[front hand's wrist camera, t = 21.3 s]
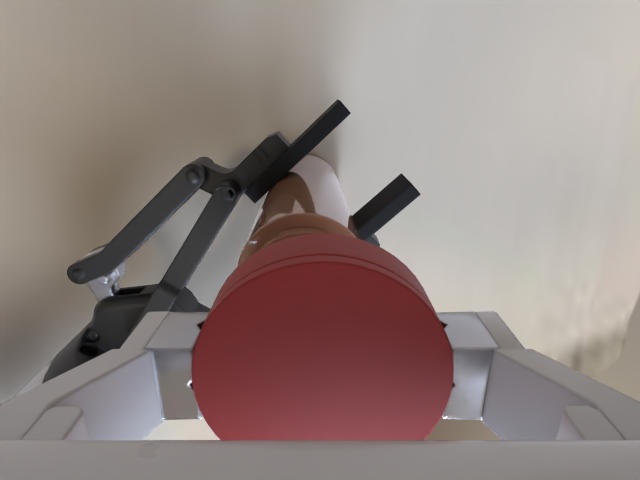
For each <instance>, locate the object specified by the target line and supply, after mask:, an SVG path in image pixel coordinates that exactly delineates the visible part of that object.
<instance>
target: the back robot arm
mask: <svg viewBox="0 0 640 480" xmlns="http://www.w3.org/2000/svg"><path fill="white" fill-rule="evenodd" d="M349 114H350V112H349V111H348V109H347V108H346V107H345V106H344V105H343V104H342V102H341V101H339V100H337V101H336V102H335V103H334V104H333V105H331V106H330V107H329V108H328V109H327V110H326V111H325V112H324V113H323V114H322V115H321V116H320V117H319V118H318V119H317V120H316V121H315V122H314V123H313V124H312V125H311V126H310V127H309V128H308V129H307V130H305V131H304V132H303V133H302V134H301V135H300V136H299V137H298V138H297V139H296V140H295V141H294V142H293V143H292V144H290V143H289V142H288V141H287V140H286V139H285V138H284V137H283V136H282V134H281V133H280V132H276V133H274V134H271V135H269V136H268V137H267V138H266V139H265V140H264V141H263V142H262V143H261V144H260V145H259V146H258V147H257V148H256V149H255V150H254V151H253V152H252V153H251V154H250V155H249V156H248V157H247V158H246V159H245V160H243V161H242V162H241V163H240V164H239V165H238V166H237V167H235V168H232V169H227V168H223V167H221V166H219V165H217V164H215V163H214V162H213V161H212V160H211V159H210V158H207V157H200V158H198V159H196V160H195V161H193V162H191V163H190V164H188V165H186V166H185V167H183V168H182V169H181V170H180V171H179V173H178V174H177V175H176V176H175V177H174V178H173V179H172V180H171V181H170V182H169V183H168V184H167V185H166V186H165V187H164V188H163V189H162V190H161V191H160V192H159V193H158V194H157V195H156V196H155V197H154V198H153V199H152V200H151V201H150V202H149V203H148V204H147V205H146V206H145V207H144V208H143V209H142V210H141V211H140V212H139V213H138V214H137V215H136V216H135V217H134V218H133V219H132V220H131V221H130V222H129V223H128V224H127V225H126V226H125V227H124V228H123V229H122V230H121V232H120V233H119V234H118V235H117V236H116V237H115V238H114V239H113V240H112V241H111V242H110V243H107V244H105V245H103V246H100V247H98V248H95V249H93V250H92V251H91V252H89V253H88V254H86V255H85V256H83V257H82V258H81V259H79V260H78V261H77V262H75V263H74V264H73V265H71V266H70V267H69V268H68V270H67V275H68V277H69V279H70V280H71V281H72V282H74V283H76V284H84V283H87V285H88V286H89V288H90V289H91V291H92V292H93V294H94V295H95V297H96V298H97V300H98V301H99V302H98V304H97V305H96V307H95V309H94V315H93V319H92V321H91V322H90V323H89V324H88V325H87V326H86V327H85V328H84V329H83V330H82V331H81V332H80V333H79V334H78V335H77V336H76V337H75V338H74V339H73V340H72V341H71V342H70V343H69V344H68V345H66V346H65V347H64V348H63V349H62V350H61V351H60V352H59V353H58V354H57V355H56V357H55V358H54V359H53V360H52V361H51V362H50V363H48V364H47V365H46V366H45V367H44V368H43V369H42V370H41V371H40V372H39V373H38V374H37V375H36V376H35V377H34V378H33V379H32V380H31V381H30V382H29V383H28V384H27V385H26V386H24V387H23V388H22V389H21V390H20V391H19V392H18V393H17V394H16V395H15V396H14V397H16V396H18V395H20V394H22V393H24V392H26V391H28V390H31V389H33V388H35V387H37V386H39V385H41V384H43V383H45V382H47V381H49V380H51V379H53V378H55V377H57V376H59V375H61V374H63V373H65V372H67V371H69V370H71V369H73V368H75V367H77V366H79V365H81V364H83V363H85V362H87V361H90V360H92V359H94V358H96V357H98V356H100V355H102V354H104V353H106V352H108V351H110V350H112V349H120V348H121V346H122V345H123V344H124V342H125V341H126V340H127V338H128V337H129V336H130V334H131V333H132V332H133V331H134V329H135V328H136V327H137V325H138V324H139V323H140V321H141V320H142V319H143V317H144V316H145V315H146V314H147V313H148V312H160V311H170V312H210V310H211V309H210V308H208V307H206V306H204V305H202V304H200V303H199V302H198V301H197V299H196V298H195V296H194V295H193V293H192V292H191V291H190V290H188V289H187V288H186V287H185V286H186V284H187V283H188V281H189V280H190V278H191V276H192V275H193V273H194V271H195V270H196V268H197V266H198V265H199V263H200V262H201V260H202V258H203V257H204V255H205V254H206V252H207V250H208V249H209V247H210V245H211V244H212V242H213V241H214V239H215V237H216V236H217V234H218V233H219V231H220V229H221V228H222V226H223V224H224V223H225V221H226V220H227V218H228V216H229V215H230V213H231V212H232V210H233V208H234V207H235V205H236V204H237V202H238V200H239V199H240V197H241V196H242V195H243V194H244V193H245V194H246V195H247V196H248V197H249V198H250V199H251V200H252V201H253V202H254V203H256V202H257V201H258V200H259V199H260V198H261V197H262V196H263V195H264V194H265V193H267V192H268V191H269V190H270V189H271V188H272V187H273V186H274V185H275V184H276V183H277V182H278V181H279V180H280V179H281V178H282V177H284V176H285V175H286V174H287V173H288V172H289V171H290V170H291V169H292V168H293V167H294V166H295V165H296V164H297V163H298V162H299V161H301V160H302V159H303V158H304V157H305V156H306V155H307V154H308V153H309V152H310V151H311V150H312V149H313V148H314V147H315V146H316V145H317V144H319V143H320V142H321V141H322V140H323V139H324V138H325V137H326V136H327V135H328V134H329V133H330V132H331V131H332V130H333V129H334V128H336V127H337V126H338V125H339V124H340V123H341V122H342V121H343V120H344V119H345V118H346V117H347V116H348V115H349ZM199 189H202V190H204V191H206V192H208V193H210V194H212V197H211V198H210V200H209V202H208V203H207V205H206V207H205V208H204V210H203V212H202V213H201V215H200V217H199V218H198V220H197V222H196V223H195V225H194V227H193V228H192V230H191V232H190V233H189V235H188V237H187V238H186V240H185V242H184V243H183V245H182V247H181V249H180V250H179V252H178V254H177V255H176V257H175V259H174V260H173V262H172V264H171V265H170V267H169V269H168V270H167V272H166V274H165V275H164V277H163V279H162V280H161V282H160V283H159V284H154V285H145V286H136V287H127V288H119V285H118V281H119V279H120V278H121V277H122V276H123V275H124V274H125V272H126V267H125V266H126V262H125V260H126V259H128V258H129V257H130V256H131V255H132V254H133V253H134V252H135V251H137V250H138V249H139V248H140V247H141V246H142V245H143V244H144V243H145V242H146V241H147V240H148V239H149V238H150V237H151V236H152V235H153V234H154V233H155V232H156V231H157V230H158V229H159V228H160V227H161V226H162V225H163V224H164V223H165V222H166V221H167V220H168V219H169V218H170V217H171V216H172V215H173V214H174V213H175V212H176V211H177V210H178V209H179V208H180V207H181V206H182V205H183V204H184V203H185V202H186V201H187V200H188V199H189V198H191V197H192V196H193V195H194V194H195V193H196V192H197V191H198V190H199ZM419 195H420V193H419V192H418V191H417V189H416V188H415V187H414V186H413V185H412V184H411V183H410V182H409V181H408V180H407V179H406V178H405V177H404V176H403V175H402V174H400V175H399V176H398V177H397V178H396V179H394V180H393V181H392V182H391V183H390V184H389V185H387V186H386V187H385V188H384V189H383V190H382V191H381V192H379V193H378V194H377V195H376V196H375V197H374V198H372V199H371V200H370V201H369V202H368V203H367V204H366V205H364V206H363V207H362V208H361V209H360V210H359V211H357V212H356V213H355V214H354V215H353V216H352V218H353V221H354V224H355V226H356V229H357V232H358V234H359V237H360V239H361V240H364V241H367V242H369V243H372V244H374V245H376V246H378V247H379V246H380V244H379V242H378V239H377V237H376V236H375V235H374V233H375V232H376V231H378V230H379V229H380V228H381V227H382V226H384V225H385V224H386V223H387V222H388V221H389V220H391V219H392V218H393V217H394V216H395V215H397V214H398V213H399V212H400V211H401V210H403V209H404V208H405V207H406V206H407V205H409V204H410V203H411V202H412V201H413V200H414V199H416V198H417V197H418V196H419ZM14 397H13V398H14Z"/></svg>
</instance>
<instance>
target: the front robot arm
mask: <svg viewBox="0 0 640 480" xmlns="http://www.w3.org/2000/svg"><path fill="white" fill-rule="evenodd" d="M208 314H209V312H170V311H160V312H148V313H147V314H146V315H145V316H144V317H143V319H142V320H141V321H140V323H139V324H138V325H137V327H136V328H135V329H134V331H133V332H132V333H131V334H130V336H129V337H128V338H127V340H126V341H125V342H124V344H123V345H122V346H121V348H120V349H112V350H110V351H108V352H106V353H104V354H102V355H100V356H98V357H96V358H94V359H92V360H90V361H87V362H85V363H83V364H81V365H79V366H77V367H75V368H73V369H71V370H69V371H67V372H65V373H63V374H61V375H59V376H57V377H55V378H53V379H51V380H49V381H47V382H45V383H43V384H41V385H39V386H37V387H35V388H33V389H31V390H28V391H26V392H24V393H22V394H20V395H18V396H16V397H14V398H12V399H10V400H8V401H6V402H4V403H2V404H1V405H0V480H640V402H639V401H637V400H635V399H633V398H631V397H629V396H627V395H625V394H623V393H621V392H619V391H617V390H615V389H613V388H611V387H608V386H606V385H604V384H602V383H600V382H598V381H596V380H594V379H592V378H590V377H588V376H586V375H584V374H582V373H580V372H578V371H576V370H574V369H572V368H570V367H568V366H566V365H563V364H561V363H559V362H557V361H555V360H553V359H551V358H549V357H547V356H545V355H543V354H541V353H539V352H537V351H535V350H533V349H525V348H524V347H523V346H522V344H521V343H520V342H519V340H518V339H517V338H516V337H515V335H514V334H513V333H512V332H511V330H510V329H509V328H508V326H507V325H506V324H505V323H504V321H503V320H502V319H501V318H500V316H499V315H498V314H497V313H496V312H494V311H485V312H443V313H436V314H437V316H438V318H439V320H440V322H441V323H442V326H443V328H444V330H445V332H446V334H447V336H448V339H449V343H450V346H451V350H452V355H453V363H454V376H453V385H452V390H451V395H450V398H449V401H448V404H447V406H446V409H445V411H444V413H443V415H442V417H443V419H466V420H482V422H483V423H484V424H485V425H486V426H487V427H488V428H489V429H491V430H492V431H493V432H494V433H495V434H496V435H497V436H498V437H500V438H501V439H502V440H143V439H144V438H145V437H146V436H147V435H148V434H150V433H151V432H152V431H153V430H154V429H155V428H156V427H157V426H159V425H160V424H161V423H162V420H178V419H201V418H202V416H203V415H202V413H201V411H200V409H199V406H198V404H197V401H196V399H195V395H194V390H193V385H192V375H191V365H192V355H193V351H194V347H195V343H196V339H197V337H198V335H199V333H200V330H201V328H202V326H203V324H204V322H205V320H206V318H207V316H208Z"/></svg>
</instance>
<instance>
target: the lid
mask: <svg viewBox="0 0 640 480" xmlns="http://www.w3.org/2000/svg"><path fill="white" fill-rule="evenodd" d="M191 375H192V385H193V390H194V395H195V399H196V401H197V404H198V406H199V409H200V411H201V413H202V415H203V417H204V419H205V420H206V422H207V424H208V425H209V426H210V428H211V429H212V430H213V432H214V433H215V434H216V436H217V437H218V438H219V439H220V440H424V439H425V438H426V437H427V436H428V435H429V434H430V433H431V432H432V430H433V429H434V427H435V426H436V425H437V423H438V422H439V420H440V418H441V417H442V415H443V413H444V411H445V409H446V406H447V404H448V401H449V398H450V395H451V390H452V385H453V376H454V363H453V355H452V350H451V346H450V343H449V339H448V336H447V334H446V332H445V330H444V328H443V326H442V323H441V322H440V320H439V318H438V316H437V314H436V312H435V310H434V308H433V306H432V304H431V302H430V300H429V298H428V296H427V294H426V293H425V291H424V289H423V287H422V285H421V284H420V282H419V281H418V279H417V278H416V276H415V275H414V274H413V273H412V272H411V271H410V270H409V269H408V268H407V266H406V265H404V264H403V263H402V262H401V261H400V260H398V259H397V258H396V257H395V256H393V255H392V254H390V253H389V252H387V251H385V250H384V249H382V248H380V247H378V246H376V245H374V244H372V243H369V242H367V241H364V240H361V239H357V238H354V237H350V236H344V235H338V234H322V233H320V234H307V235H301V236H296V237H290V238H287V239H284V240H281V241H278V242H275V243H273V244H271V245H269V246H267V247H265V248H263V249H260V250H259V251H257V252H256V253H254V254H253V255H251V256H250V257H248V258H247V259H246V260H245V261H244V262H243V263H241V264H240V265H239V266H238V267H237V268H236V269H235V270H234V271H233V273H232V274H231V275H230V276H229V277H228V278H227V280H226V282H225V283H224V285H223V286H222V288H221V290H220V291H219V293H218V295H217V297H216V300H215V302H214V304H213V306H212V308H211V310H210V312H209V314H208V316H207V318H206V320H205V322H204V324H203V326H202V328H201V330H200V333H199V335H198V337H197V339H196V343H195V347H194V351H193V355H192V365H191Z"/></svg>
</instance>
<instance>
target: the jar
mask: <svg viewBox="0 0 640 480" xmlns="http://www.w3.org/2000/svg"><path fill="white" fill-rule="evenodd" d="M320 233H322V234H338V235H344V236H350V237H354V238H357V239H360V237H359V234H358V232H357V229H356V226H355V224H354V221H353V218H352V216H351V213H350V210H349V208H348V205H347V202H346V200H345V197H344V195H343V192H342V189H341V187H340V184H339V181H338V179H337V176H336V174H335V172H334V170H333V169H332V167H331V166H330V165H329V164H328V163H327V162H325V161H324V160H323V159H321V158H319V157H316V156H313V155H306V156H305V157H304V158H303V159H302V160H301V161H299V162H298V163H297V164H296V165H295V166H294V167H293V168H292V169H291V170H290V171H289V172H288V173H287V174H286V175H285V176H284V177H282V178H281V179H280V180H279V181H278V182H277V183H276V184H275V185H274V186H273V187H272V188H271V189H270V190H269V191H268V192H267V193H266V195H265V197H264V200H263V202H262V205H261V207H260V209H259V212H258V214H257V217H256V219H255V221H254V224H253V226H252V229H251V231H250V233H249V236H248V238H247V240H246V243H245V245H244V248H243V250H242V252H241V255H240V259H239V263H238V266H239V265H240V264H241V263H243V262H244V261H245V260H246V259H247V258H248V257H250V256H251V255H253V254H254V253H256V252H257V251H259V250H260V249H263V248H265V247H267V246H269V245H271V244H273V243H275V242H278V241H281V240H284V239H287V238H290V237H296V236H301V235H307V234H320Z"/></svg>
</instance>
